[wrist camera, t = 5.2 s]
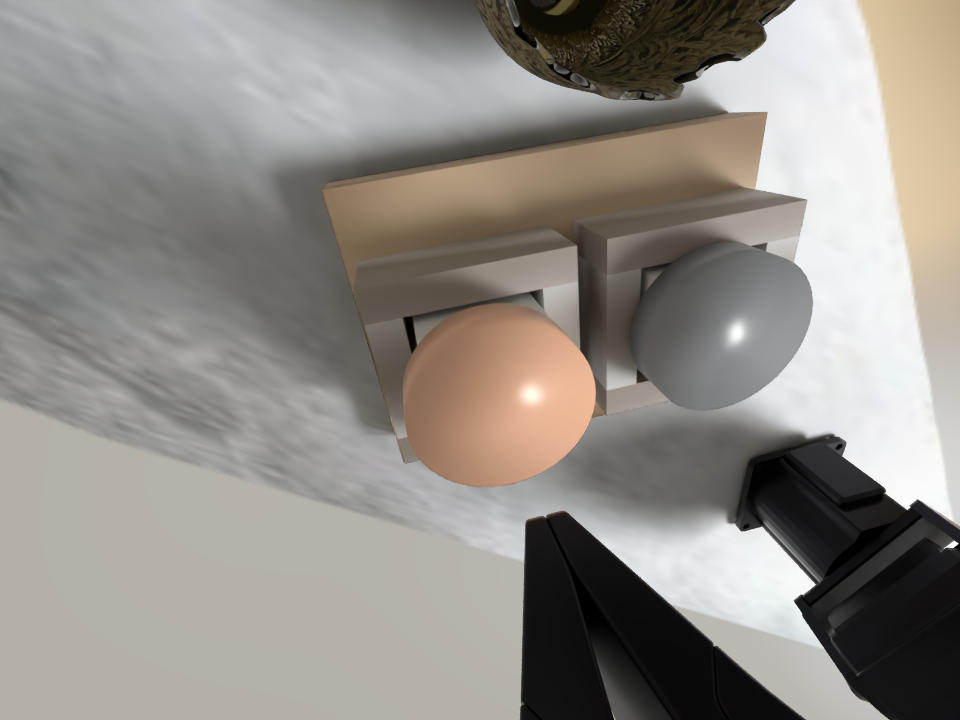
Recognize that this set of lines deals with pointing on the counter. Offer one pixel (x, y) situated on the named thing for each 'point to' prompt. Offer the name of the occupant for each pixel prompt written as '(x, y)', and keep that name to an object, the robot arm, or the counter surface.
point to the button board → (553, 237)
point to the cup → (628, 40)
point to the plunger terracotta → (495, 392)
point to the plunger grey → (719, 323)
